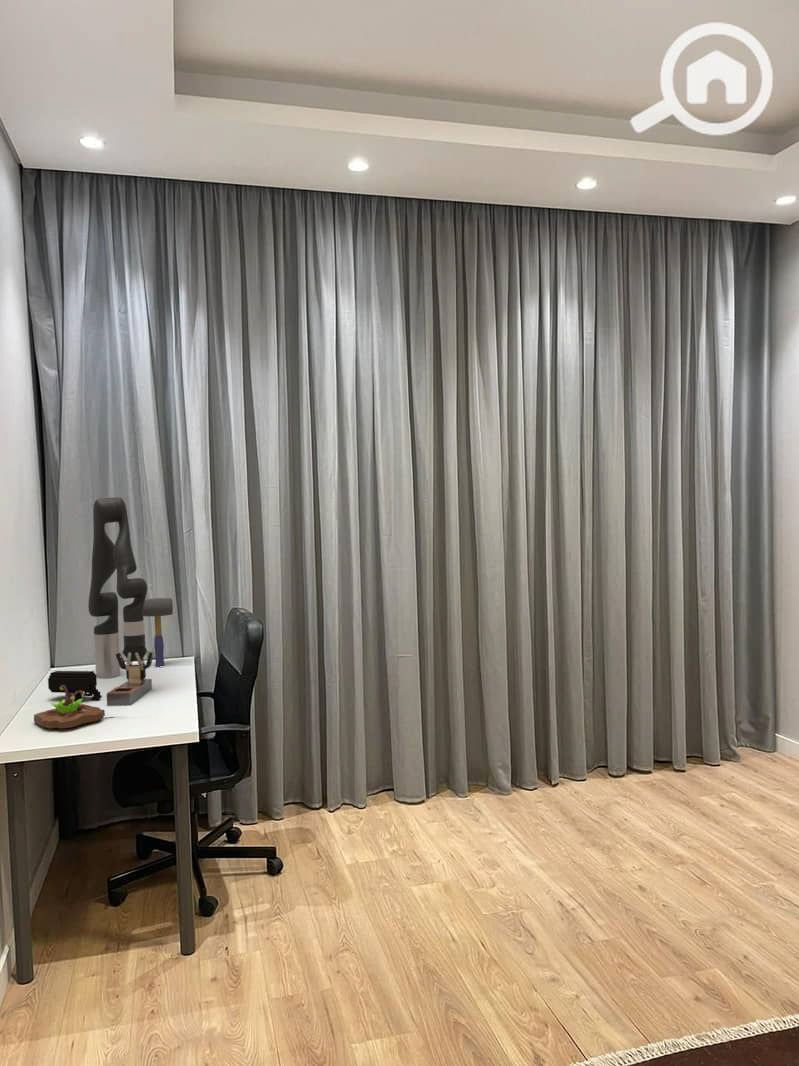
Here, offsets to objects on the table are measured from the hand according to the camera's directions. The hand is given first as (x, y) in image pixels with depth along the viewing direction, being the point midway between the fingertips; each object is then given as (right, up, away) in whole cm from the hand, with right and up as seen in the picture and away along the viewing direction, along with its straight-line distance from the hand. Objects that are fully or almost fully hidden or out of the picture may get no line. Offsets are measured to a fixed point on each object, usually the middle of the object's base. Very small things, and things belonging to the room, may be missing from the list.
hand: (136, 679), depth 312 cm
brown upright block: (0, -4, 0) cm, 4 cm away
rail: (0, -5, -7) cm, 8 cm away
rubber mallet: (-3, -3, +41) cm, 41 cm away
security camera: (-19, -6, -8) cm, 21 cm away
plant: (-11, -7, -35) cm, 37 cm away
